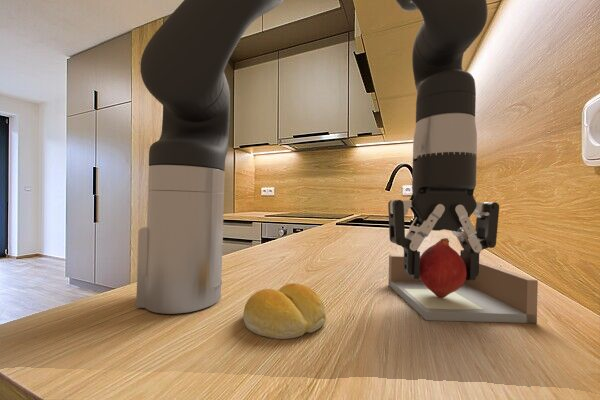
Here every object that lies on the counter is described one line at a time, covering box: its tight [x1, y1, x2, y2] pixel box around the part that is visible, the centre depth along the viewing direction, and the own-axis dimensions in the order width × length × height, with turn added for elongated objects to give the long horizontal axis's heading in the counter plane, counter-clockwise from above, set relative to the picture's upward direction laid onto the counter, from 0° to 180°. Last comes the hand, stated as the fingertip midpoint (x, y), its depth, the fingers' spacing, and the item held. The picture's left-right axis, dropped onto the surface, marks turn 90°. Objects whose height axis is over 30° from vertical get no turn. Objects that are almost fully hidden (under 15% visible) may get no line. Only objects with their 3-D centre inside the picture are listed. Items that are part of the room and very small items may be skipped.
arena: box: [387, 254, 539, 324], centre depth 37 cm, size 13×13×5 cm
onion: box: [419, 237, 467, 298], centre depth 35 cm, size 6×6×8 cm
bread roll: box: [242, 283, 327, 340], centre depth 29 cm, size 8×9×4 cm
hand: (440, 278), depth 35 cm, fingers open, 6 cm apart
